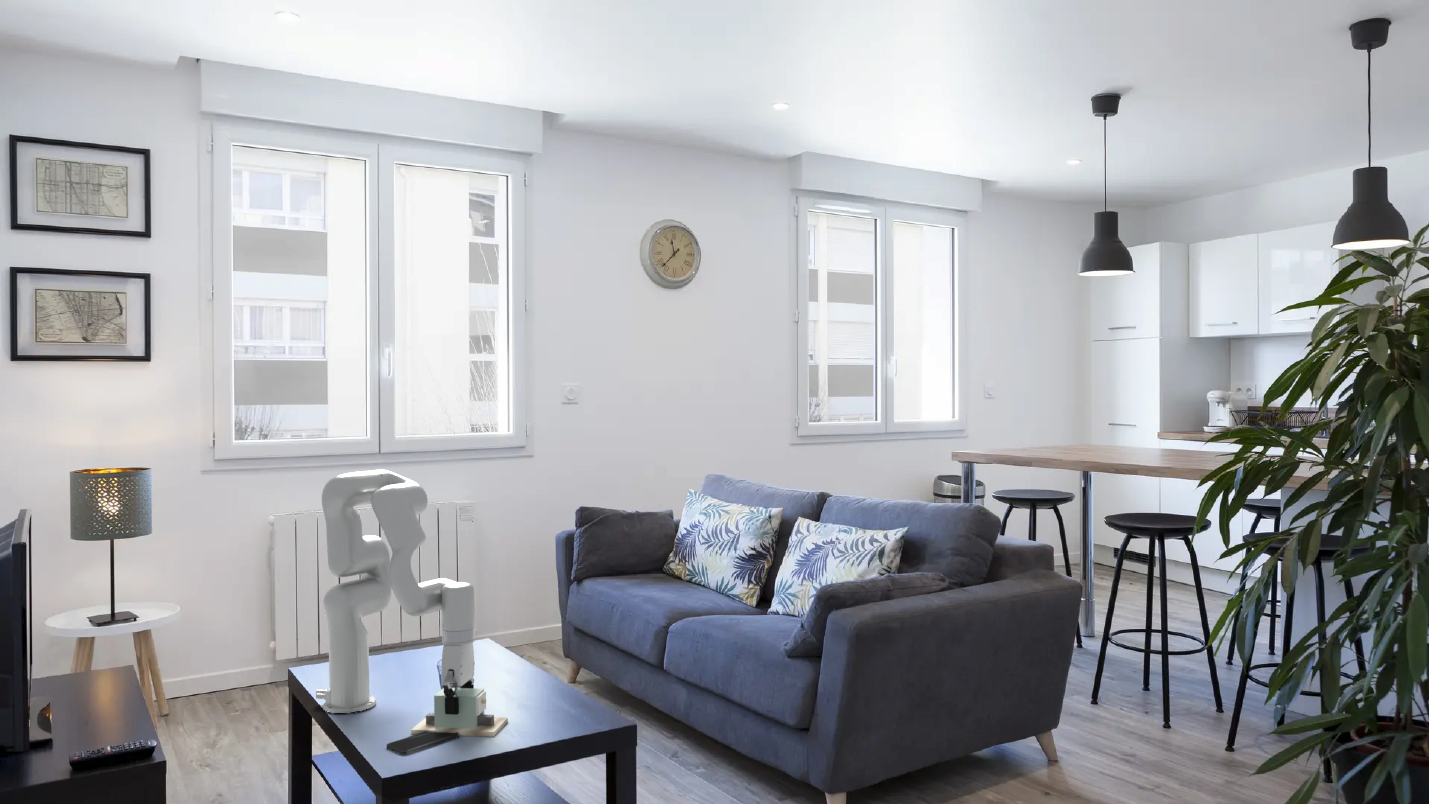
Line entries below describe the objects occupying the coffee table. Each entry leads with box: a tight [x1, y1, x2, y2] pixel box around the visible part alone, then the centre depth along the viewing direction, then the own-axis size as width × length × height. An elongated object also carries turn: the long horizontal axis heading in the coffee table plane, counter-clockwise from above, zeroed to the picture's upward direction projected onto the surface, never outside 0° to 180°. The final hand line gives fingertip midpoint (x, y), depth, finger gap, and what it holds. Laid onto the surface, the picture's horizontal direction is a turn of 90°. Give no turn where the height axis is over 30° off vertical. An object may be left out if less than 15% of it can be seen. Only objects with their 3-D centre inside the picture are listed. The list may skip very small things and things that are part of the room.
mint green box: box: [433, 687, 487, 728], centre depth 237 cm, size 11×6×8 cm, turn 84°
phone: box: [386, 731, 460, 756], centre depth 227 cm, size 8×1×15 cm
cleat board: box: [410, 712, 509, 737], centre depth 237 cm, size 20×10×3 cm, turn 83°
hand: (459, 707), depth 237 cm, fingers open, 9 cm apart
